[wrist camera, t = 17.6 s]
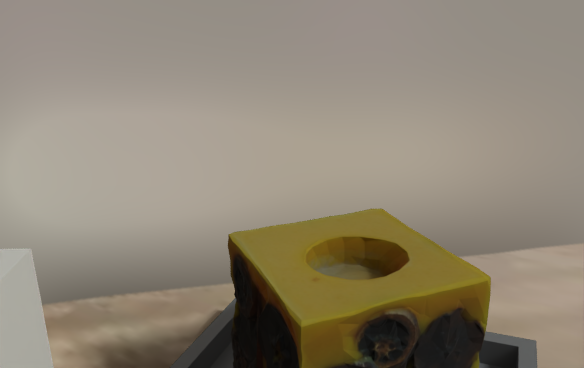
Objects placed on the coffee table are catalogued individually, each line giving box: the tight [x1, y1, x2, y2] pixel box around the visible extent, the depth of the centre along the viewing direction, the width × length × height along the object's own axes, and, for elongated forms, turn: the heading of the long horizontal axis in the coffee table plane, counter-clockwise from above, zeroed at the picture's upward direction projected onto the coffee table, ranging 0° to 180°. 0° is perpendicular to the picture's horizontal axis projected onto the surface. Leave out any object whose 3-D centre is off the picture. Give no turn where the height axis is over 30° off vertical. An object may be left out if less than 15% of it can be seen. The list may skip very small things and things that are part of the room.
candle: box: [228, 209, 491, 368], centre depth 29 cm, size 10×10×10 cm
